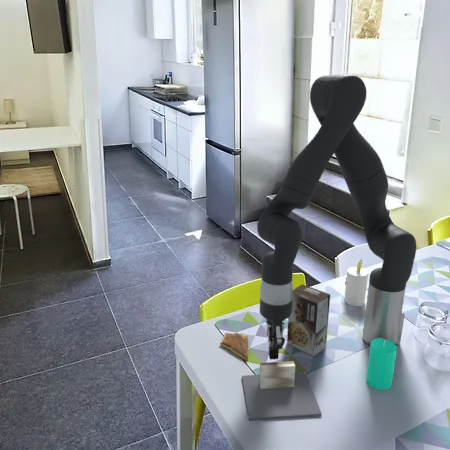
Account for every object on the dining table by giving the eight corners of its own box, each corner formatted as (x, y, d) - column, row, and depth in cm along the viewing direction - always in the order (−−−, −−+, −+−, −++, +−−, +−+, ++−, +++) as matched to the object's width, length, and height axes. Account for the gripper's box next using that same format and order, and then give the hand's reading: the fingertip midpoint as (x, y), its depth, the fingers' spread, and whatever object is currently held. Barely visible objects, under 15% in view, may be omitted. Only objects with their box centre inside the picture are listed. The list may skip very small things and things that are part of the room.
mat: (306, 374, 115) (306, 372, 115) (321, 415, 102) (321, 413, 102) (242, 377, 114) (242, 375, 114) (249, 420, 101) (249, 418, 101)
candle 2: (388, 393, 109) (394, 350, 105) (362, 384, 112) (368, 342, 108) (394, 378, 114) (400, 337, 109) (369, 370, 117) (375, 329, 112)
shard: (247, 363, 120) (248, 357, 120) (218, 362, 121) (218, 356, 120) (248, 338, 130) (248, 333, 130) (221, 338, 131) (221, 332, 130)
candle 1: (348, 293, 153) (352, 252, 148) (367, 299, 149) (372, 257, 144) (340, 301, 148) (344, 259, 143) (360, 308, 145) (365, 264, 139)
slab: (292, 381, 112) (293, 361, 110) (294, 386, 110) (295, 366, 108) (259, 383, 111) (260, 362, 109) (260, 388, 110) (261, 367, 107)
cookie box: (327, 346, 126) (331, 294, 120) (313, 357, 122) (318, 303, 116) (299, 333, 132) (302, 283, 126) (285, 343, 127) (288, 291, 122)
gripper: (298, 310, 102) (294, 374, 108) (286, 281, 115) (283, 341, 121) (264, 311, 102) (262, 375, 108) (256, 282, 114) (254, 342, 120)
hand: (273, 357), depth 114 cm, fingers closed
